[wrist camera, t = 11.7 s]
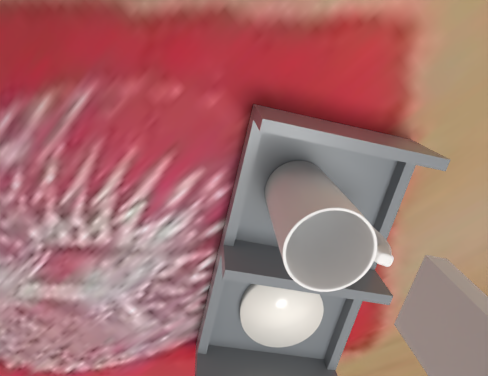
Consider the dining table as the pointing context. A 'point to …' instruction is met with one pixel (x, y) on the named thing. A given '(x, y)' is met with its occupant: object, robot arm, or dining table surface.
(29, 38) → the dining table surface
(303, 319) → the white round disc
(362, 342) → the dining table surface
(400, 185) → the rack
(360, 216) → the mug
